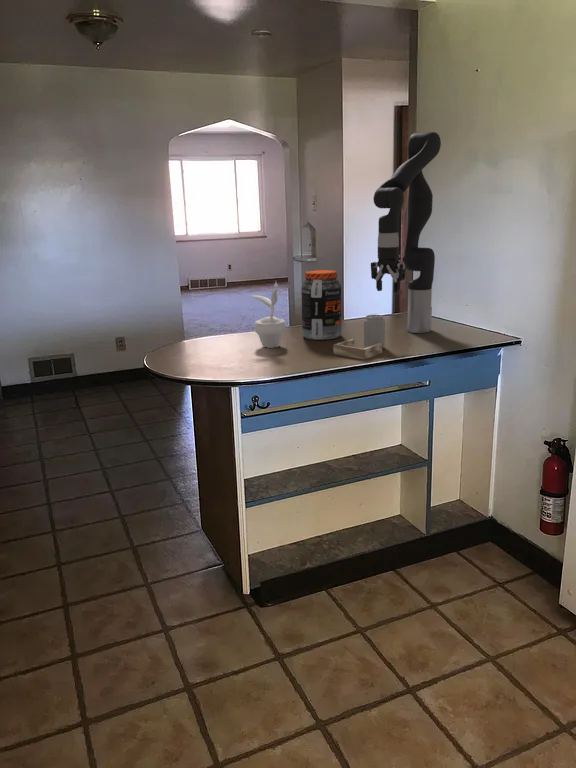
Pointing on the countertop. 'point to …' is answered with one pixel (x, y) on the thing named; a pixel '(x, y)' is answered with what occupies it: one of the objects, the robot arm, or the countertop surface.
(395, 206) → the robot arm
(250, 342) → the countertop surface
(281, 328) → the potted plant
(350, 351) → the tray
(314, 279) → the supplement tub
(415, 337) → the countertop surface
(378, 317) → the can
